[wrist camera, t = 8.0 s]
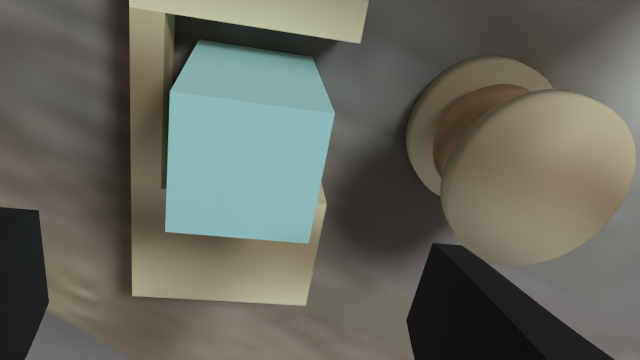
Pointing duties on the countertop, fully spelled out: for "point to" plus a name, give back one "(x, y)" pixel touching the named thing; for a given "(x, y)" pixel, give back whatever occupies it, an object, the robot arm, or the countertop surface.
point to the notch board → (152, 156)
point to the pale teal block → (246, 144)
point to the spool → (518, 160)
